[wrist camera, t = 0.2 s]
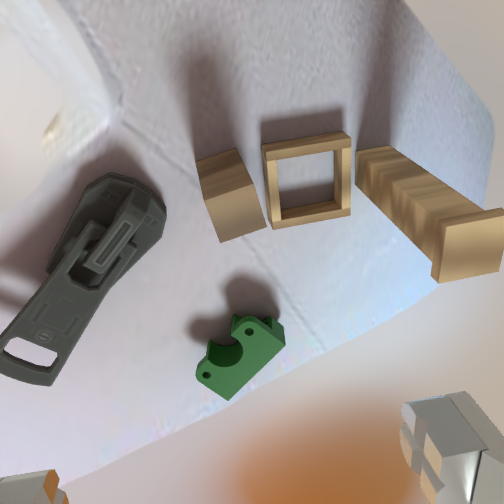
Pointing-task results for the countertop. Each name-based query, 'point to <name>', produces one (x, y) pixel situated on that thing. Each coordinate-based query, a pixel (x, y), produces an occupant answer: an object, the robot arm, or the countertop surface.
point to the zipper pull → (84, 271)
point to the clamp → (240, 355)
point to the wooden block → (229, 195)
